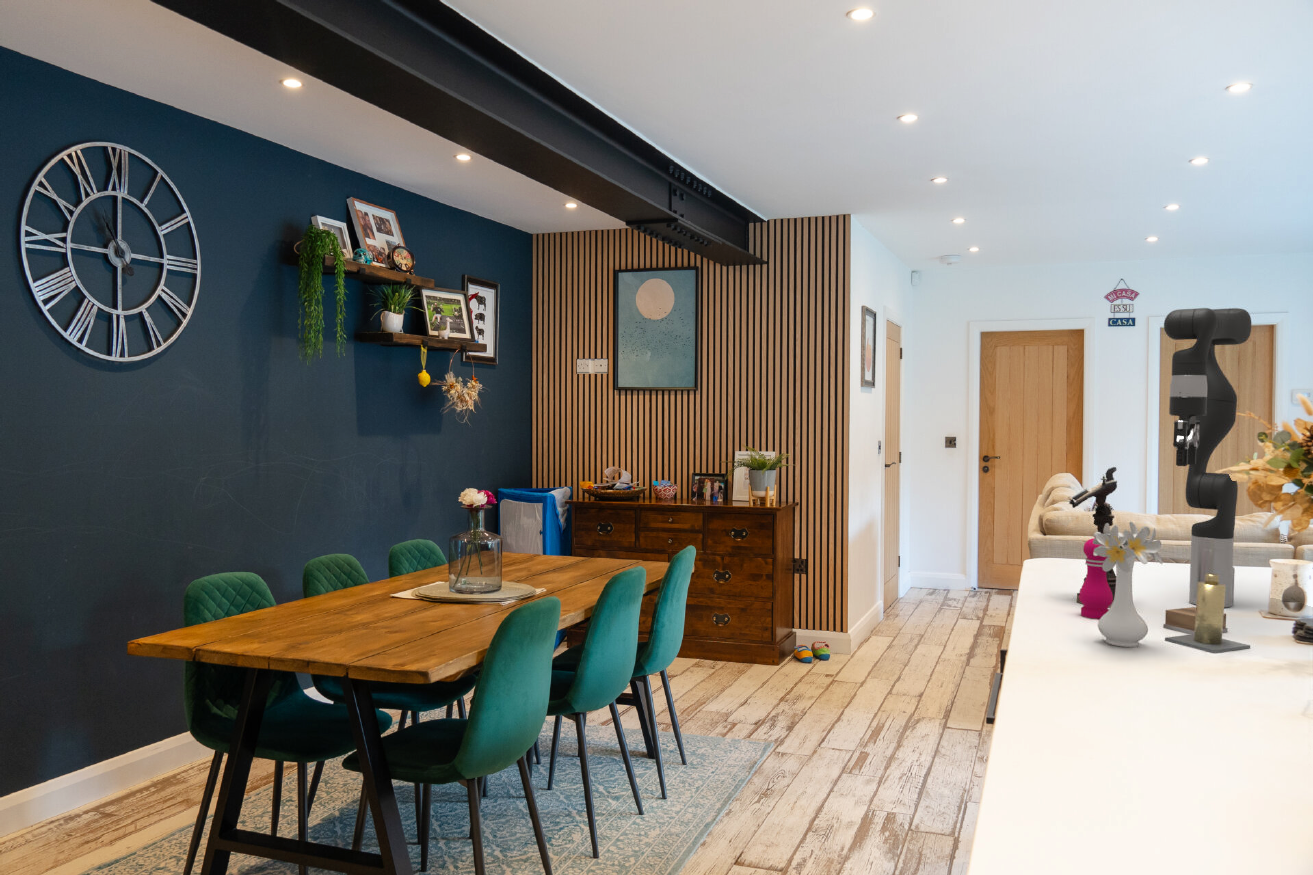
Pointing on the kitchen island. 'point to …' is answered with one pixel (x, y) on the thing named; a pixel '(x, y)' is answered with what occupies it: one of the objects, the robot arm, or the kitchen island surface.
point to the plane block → (1184, 620)
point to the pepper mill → (1095, 584)
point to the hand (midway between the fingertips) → (1185, 465)
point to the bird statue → (1100, 514)
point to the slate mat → (1213, 648)
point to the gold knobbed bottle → (1209, 610)
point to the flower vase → (1124, 581)
